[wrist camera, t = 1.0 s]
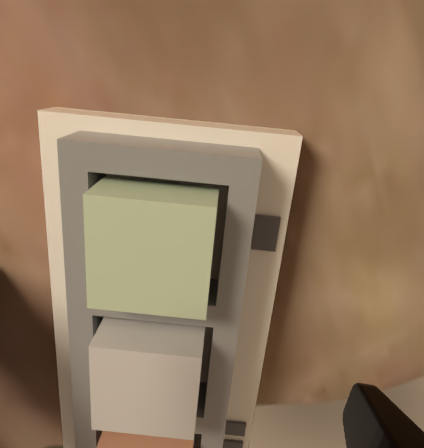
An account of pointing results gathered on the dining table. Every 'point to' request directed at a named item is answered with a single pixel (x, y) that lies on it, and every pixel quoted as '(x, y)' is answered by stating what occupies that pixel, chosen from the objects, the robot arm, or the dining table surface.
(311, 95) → the dining table surface
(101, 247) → the sage key
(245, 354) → the grey piece
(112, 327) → the grey key
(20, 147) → the dining table surface
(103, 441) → the clay key
